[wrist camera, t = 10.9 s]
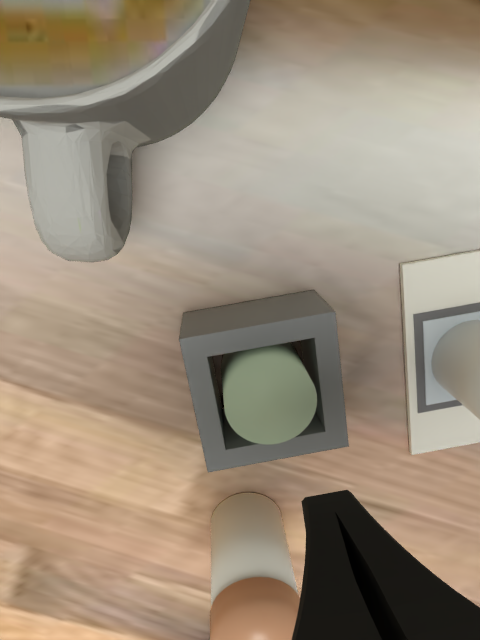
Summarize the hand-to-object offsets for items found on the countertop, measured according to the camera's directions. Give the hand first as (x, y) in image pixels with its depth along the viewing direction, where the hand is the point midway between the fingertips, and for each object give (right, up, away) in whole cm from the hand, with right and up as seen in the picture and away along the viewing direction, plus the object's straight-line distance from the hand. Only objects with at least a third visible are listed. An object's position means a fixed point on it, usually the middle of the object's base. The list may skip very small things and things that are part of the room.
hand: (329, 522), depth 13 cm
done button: (-2, +4, +8) cm, 9 cm away
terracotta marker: (-2, -5, +11) cm, 13 cm away
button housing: (-2, +4, +8) cm, 9 cm away
